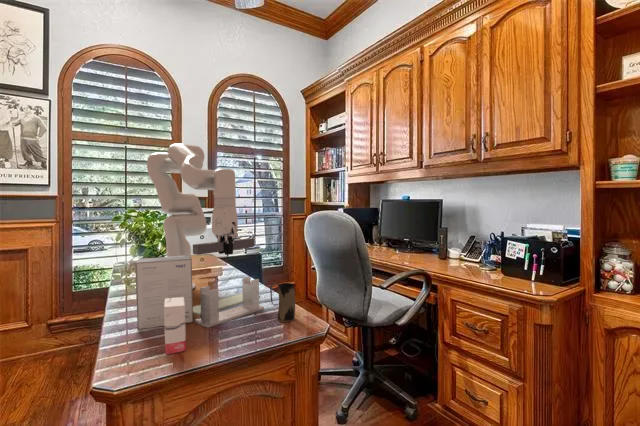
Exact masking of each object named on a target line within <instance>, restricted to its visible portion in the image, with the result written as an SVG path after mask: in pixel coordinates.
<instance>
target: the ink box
mask: <svg viewBox="0 0 640 426" xmlns="http://www.w3.org/2000/svg"><path fill="white" fill-rule="evenodd" d="M164 303H165V304H164V325H165V326H164V348H165V349H164V350H165V351H164V352H165V355H170V354H176V353H182V352H185V351H187V348H186V341H187V339H186V337H187V336H186V334H187V333H186V323H185V303H184V297H177V298H166V299H165V302H164Z"/></svg>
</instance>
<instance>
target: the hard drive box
mask: <svg viewBox="0 0 640 426" xmlns="http://www.w3.org/2000/svg"><path fill="white" fill-rule="evenodd" d="M192 261H193V260H192V254H191V255H187V256H172V257H167V256H159V257H148V258H145V257H144V258H139V259H138V260H137V261H135V263H134V267H135V269H134V270H135V291H136V292H135V297H136V319H137V320H136V323H137V324H136V327H137V330H141V329H142V330H143V329H151V328H157V327H165V325H164V304H165V303H164V302H165V299H166V298H177V297H184V303H185V324H187V323H192V322H194V313H193V307H194V305H193V304H194V302H193V301H194V300H193V298H194V297H193V289H192V283H193V267H192Z"/></svg>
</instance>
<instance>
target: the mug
mask: <svg viewBox="0 0 640 426" xmlns="http://www.w3.org/2000/svg"><path fill="white" fill-rule="evenodd" d="M273 285H277V289H278V303H275V304H274V303H273V292H272V291H273V288H272V287H273ZM269 289H270V290H269V292H270V300H271V304H272V306H275V307H276V306H278V308H277V309H278V311H277V321H278V322H280V323H293V322H295V319H296V317H295V316H296V293H295V292H296V291H295V284H294V283H291V282H289V283H288V282H285V283H284V282H283V283H278V282H273V283H271V284H270V286H269Z"/></svg>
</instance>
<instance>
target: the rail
mask: <svg viewBox="0 0 640 426" xmlns="http://www.w3.org/2000/svg"><path fill="white" fill-rule="evenodd" d="M225 244H226V241H220V242H218V241H212V242H205V243H196V244H192V255H197V256H200V255H206V254H212V253H219V252H221V251H225ZM254 247H255V238H254V237H252V238H251V237H248V238H239V239H237V238H236V239H235V240H234V243H233V251H234V250H240V249H241V250H242V249H248V248H254Z"/></svg>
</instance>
